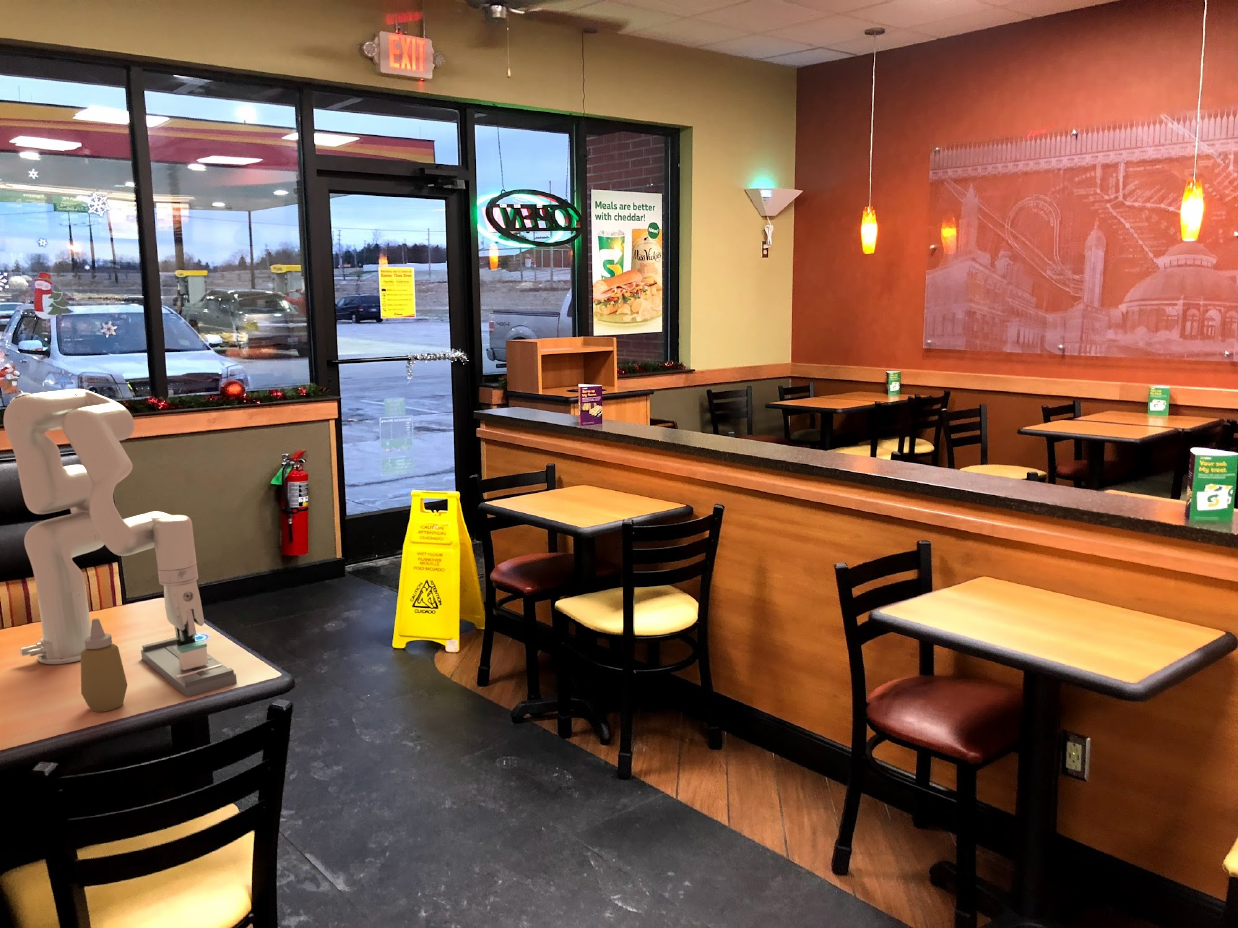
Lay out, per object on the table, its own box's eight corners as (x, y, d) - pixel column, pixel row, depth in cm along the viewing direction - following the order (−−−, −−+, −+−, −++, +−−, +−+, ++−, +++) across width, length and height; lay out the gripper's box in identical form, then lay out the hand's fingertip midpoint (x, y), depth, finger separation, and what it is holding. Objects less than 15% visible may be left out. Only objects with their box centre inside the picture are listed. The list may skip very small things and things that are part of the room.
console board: (186, 697, 196) (185, 683, 196) (141, 658, 218) (140, 645, 218) (236, 682, 203) (235, 669, 202) (188, 647, 225) (186, 634, 224)
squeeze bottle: (83, 718, 187) (71, 629, 184) (84, 703, 195) (72, 617, 191) (130, 709, 191) (118, 621, 188) (129, 695, 198) (118, 610, 195)
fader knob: (183, 670, 204) (181, 649, 203) (179, 667, 206) (176, 646, 205) (208, 663, 207) (206, 643, 206) (204, 660, 209) (202, 640, 208)
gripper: (209, 576, 203) (218, 660, 206) (184, 563, 214) (193, 643, 217) (171, 585, 198) (181, 670, 201) (148, 571, 209) (158, 652, 212)
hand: (187, 656), depth 209 cm, fingers closed
